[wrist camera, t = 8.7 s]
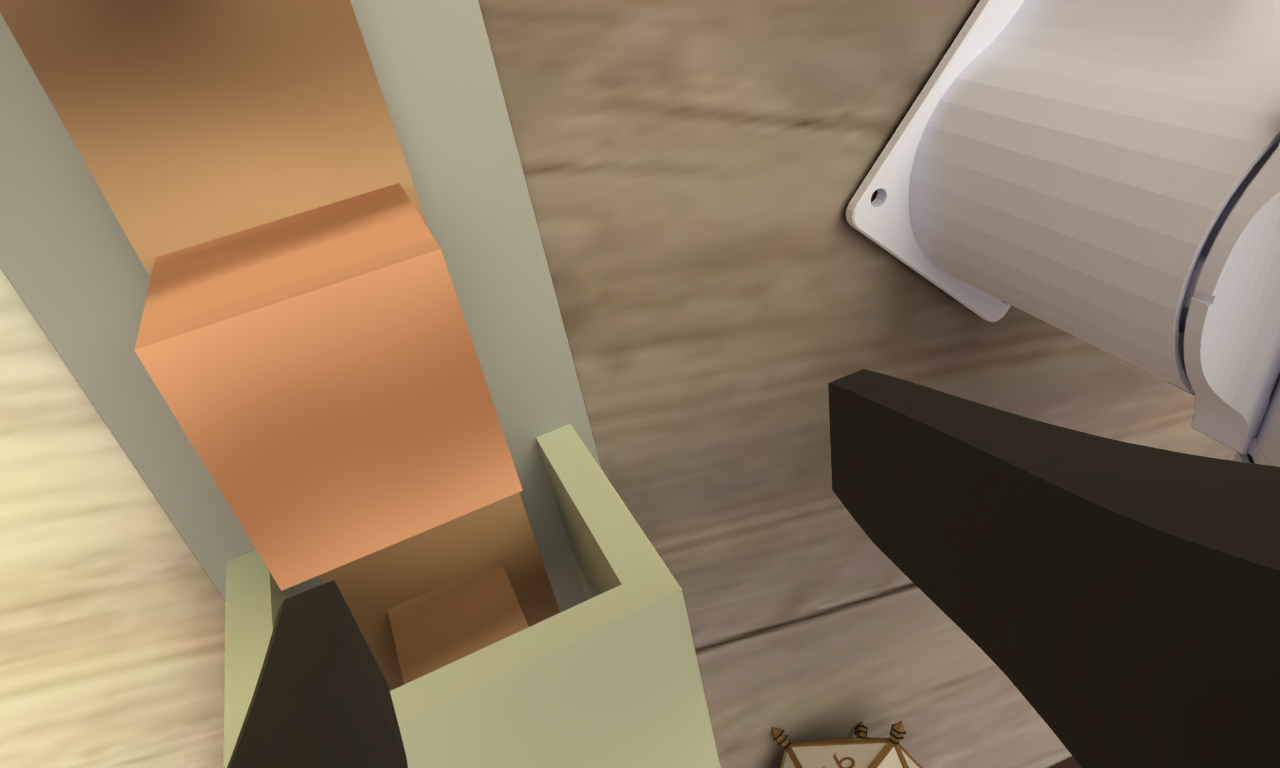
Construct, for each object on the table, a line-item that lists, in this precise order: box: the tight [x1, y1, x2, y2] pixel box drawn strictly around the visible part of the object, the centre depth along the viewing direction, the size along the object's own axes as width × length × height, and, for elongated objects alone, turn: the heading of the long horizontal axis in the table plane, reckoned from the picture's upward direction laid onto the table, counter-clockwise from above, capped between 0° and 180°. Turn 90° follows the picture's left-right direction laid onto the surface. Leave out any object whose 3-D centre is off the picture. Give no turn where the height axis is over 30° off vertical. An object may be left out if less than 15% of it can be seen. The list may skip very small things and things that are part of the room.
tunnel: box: [224, 424, 720, 768], centre depth 20 cm, size 7×9×7 cm
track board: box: [0, 0, 602, 613], centre depth 23 cm, size 31×10×1 cm, turn 11°
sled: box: [0, 0, 560, 691], centre depth 15 cm, size 21×5×6 cm, turn 11°
